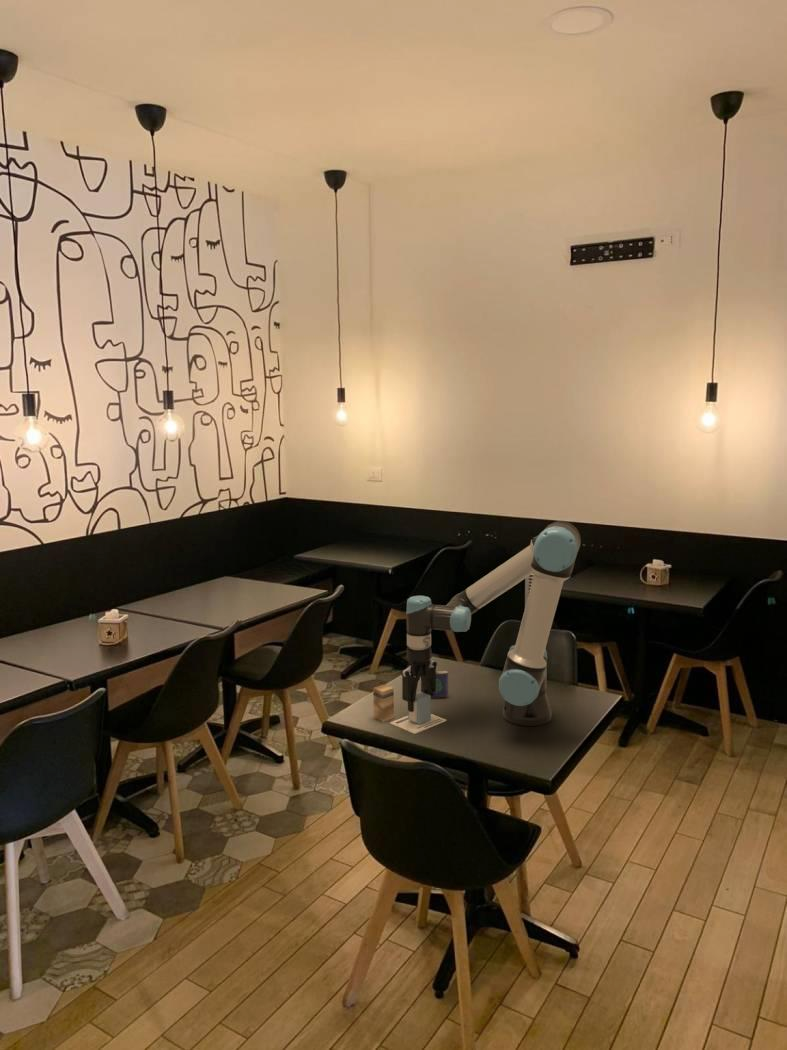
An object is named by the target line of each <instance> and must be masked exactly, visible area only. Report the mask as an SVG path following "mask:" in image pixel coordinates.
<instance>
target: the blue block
mask: <svg viewBox="0 0 787 1050" xmlns="http://www.w3.org/2000/svg"><path fill="white" fill-rule="evenodd" d="M415 701H416V702H417V722H415V723H417V724H422V723H424V722H427V721H429V720H431V714H432V711H431V710H432V709H431V708H432V699H431V695H428V694H426V693H423V692H421V690H420V691H419V690H417V691H416V696H415ZM407 716H408V720H409V711H408V710H407ZM410 721H411V720H410Z"/></svg>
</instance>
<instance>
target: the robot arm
mask: <svg viewBox="0 0 787 1050" xmlns="http://www.w3.org/2000/svg"><path fill="white" fill-rule="evenodd" d="M581 539H582V538H581V535H580V532H579V530H578V529H577V528H576V527H575V526H574V525H573V524H572V523H569V522H568V521H561V520H558V521H554V522H552V523H550V524H548V525H547V526H546V527H545V528H544V529H543V530H542V531H541V532H540V533H539V534H538V535H536V536H535V537H534V538H531V540H530V544H529V545H528V546H526V547H525V548H524V549H522V550H521V551H519V552H518V553H516V554H515V555H514V556H512V557H510V558H509V559H508V560H506V561H505V562H503V563H502V564H500V565H499V566H497V567H496V568H495V569H493V570H491V571H490V572H489V573H488V574H486V575H485V576H484V575H483V577H481V578H480V579H478V580H477V581H475V582H474V583H473V584H471V585H470V586H468V587H467V588H465V590H464V589H463V591H461V592H460V593H457V594H455V595H454V596H452V598H451V599H450V600H449V602H448V603H447V604H446V605H441V604H433V603H432V599H431V597H429V596H425V595H413V596H410V597H409V598H407V601H406V612H405V614H406V646H407V647H406V658H407V661H408V665H407V668H405V669H401V671H400V674H401V677H402V679H401V680H402V681H401V684H402V687H401V689H402V690H401V691H402V692H401V693H402V694H401V695H402V700H403V701H406V702H407V712H408V711H409V720H411V721H413V722H417V702H416V701H415V696H416V692H418V684H419V681H420V682H421V681H422V686H423V690H424V693H426V694H428V695H431V696H433V695H434V694H433V692H436V670H437V669H436V667H437V665H438V663H437V661H434V660H431V659H432V647H431V646H432V630H437V631H449V632H455V633H459V632H460V633H461V632H464V633H465V632H467V631H468V630H470V627H471V622H472V615H473V614H474V613H476V612H478V611H479V610H480V609H482V608H483V607H485V606H487V604H489V603H490V602H492V601H494V600H495V599H497V598H498V597H499V596H501V595H502V594H504V593H505V592H508V590H510V589H512V588H513V587H514V586H516V585H518V584H519V583H521V582H522V581H523V580H525V579H527V578H528V577H529V576H531V575H533V577H532V581H531V585H530V589H529V593H528V595H527V600H526V603H525V607H524V612H523V615H522V619H521V623H520V627H519V631H518V634H517V636H516V638H517V639H516V642H515V644H514V645H511V646H510V647H509V651H508V652H507V656H506V658H505V659H506V660H505V663H504V667H503V670H502V673H501V675H500V676H499V679H498V691H499V693H500V695H501V697H502V698H503V700H505V701H504V705H503V708H502V717H503V719H504V720H506V721H508V722H509V723H511V724H513V725H518V726H526V727H534V726H535V727H536V726H537V727H538V726H542V725H545V724H548V723H549V722H551V720H552V715H553V714H552V713H553V711H552V708H551V706H550V703H549V702H550V701H549V699H548V696H547V680H548V679H547V677H548V676H547V673H548V672H547V671H548V670H547V667H548V666H547V665H548V662H547V661H548V652H547V649H546V647H547V644H548V640H549V637H550V633H551V629H552V626H553V622H554V618H555V615H556V612H557V607H558V605H559V600H560V596H561V594H562V593H561V592H562V588H563V586H564V582H565V581H567V580H568V579H570V578H571V576H572V573H573V570H574V567H575V566H574V565H575V563H576V562H575V561H576V558H577V555H578V552H579V550H580V548H581V542H582V540H581Z"/></svg>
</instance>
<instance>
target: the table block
mask: <svg viewBox="0 0 787 1050" xmlns="http://www.w3.org/2000/svg"><path fill="white" fill-rule="evenodd" d="M372 690H373V692H372V693H373V694H372V695H373V696H372V697H373V719H375V720H376V721H377V720H378V721H380V722H382V723H385V722H388V721H390V720H392V719H394V718H395V707H394V706H395V701H394V700H395V699H394V698H395V697H394V695H395V693H394V690H395V689H394V687H392V686H390V685H387V684H380V685H378V686H376V687H373V689H372Z"/></svg>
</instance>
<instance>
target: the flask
mask: <svg viewBox="0 0 787 1050" xmlns="http://www.w3.org/2000/svg"><path fill="white" fill-rule="evenodd" d="M437 668H438V667H437V666H436V692H433V694H434V695H433V696H431V700H432V699H447V698H448V697H449V672H448V671H447V670H438V669H437ZM420 692H423V693H424V690H423V686H422V681H421V680H420Z"/></svg>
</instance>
